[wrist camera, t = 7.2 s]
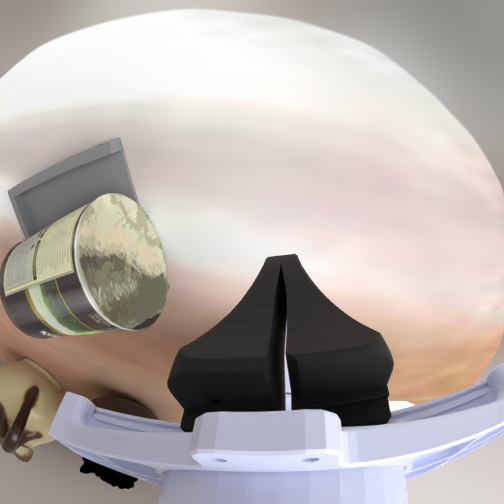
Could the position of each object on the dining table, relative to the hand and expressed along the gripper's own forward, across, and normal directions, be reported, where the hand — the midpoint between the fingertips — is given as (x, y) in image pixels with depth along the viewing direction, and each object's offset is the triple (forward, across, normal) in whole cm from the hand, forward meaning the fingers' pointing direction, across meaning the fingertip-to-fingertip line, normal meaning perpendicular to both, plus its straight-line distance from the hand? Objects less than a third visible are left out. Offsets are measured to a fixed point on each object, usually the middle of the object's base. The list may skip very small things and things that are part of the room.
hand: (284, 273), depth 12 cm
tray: (+10, +19, 0) cm, 22 cm away
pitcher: (+10, +60, +31) cm, 69 cm away
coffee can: (+5, +11, +1) cm, 12 cm away
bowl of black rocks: (+10, +32, +36) cm, 49 cm away
